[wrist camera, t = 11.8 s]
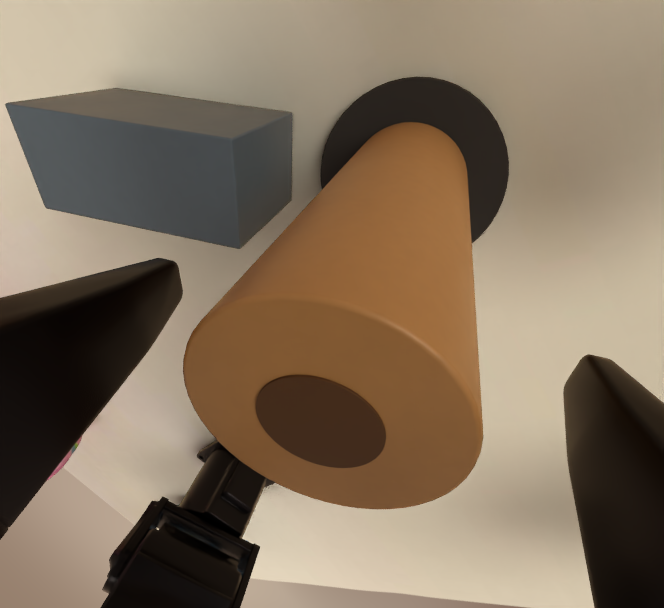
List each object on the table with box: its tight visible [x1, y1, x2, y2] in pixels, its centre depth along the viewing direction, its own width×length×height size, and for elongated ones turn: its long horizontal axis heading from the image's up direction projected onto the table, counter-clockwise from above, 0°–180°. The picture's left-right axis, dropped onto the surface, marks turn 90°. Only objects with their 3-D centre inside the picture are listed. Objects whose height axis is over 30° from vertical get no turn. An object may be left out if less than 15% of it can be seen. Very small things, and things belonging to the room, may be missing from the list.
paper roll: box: [183, 122, 483, 509], centre depth 11 cm, size 13×5×13 cm
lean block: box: [5, 88, 292, 249], centre depth 16 cm, size 4×9×6 cm, turn 86°
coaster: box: [321, 77, 509, 243], centre depth 17 cm, size 8×8×1 cm
